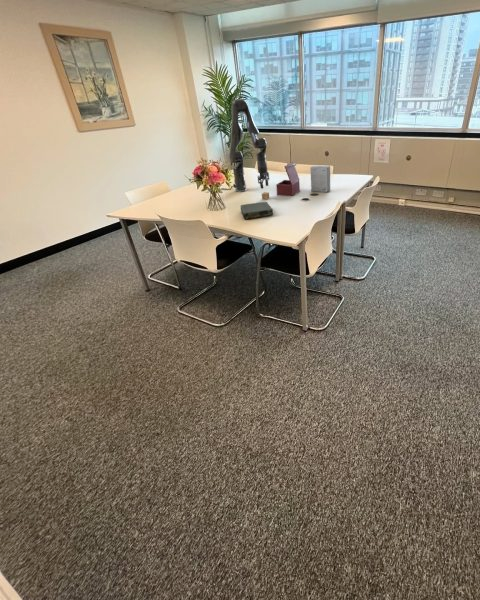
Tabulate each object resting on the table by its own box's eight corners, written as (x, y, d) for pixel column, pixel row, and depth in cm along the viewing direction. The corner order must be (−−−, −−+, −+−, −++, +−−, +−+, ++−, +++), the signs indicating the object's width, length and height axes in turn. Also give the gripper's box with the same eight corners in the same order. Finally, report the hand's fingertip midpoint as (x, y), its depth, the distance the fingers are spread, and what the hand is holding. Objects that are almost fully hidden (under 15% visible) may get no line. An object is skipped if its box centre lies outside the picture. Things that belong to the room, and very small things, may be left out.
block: (262, 199, 263) (261, 193, 261) (264, 197, 267) (264, 192, 264) (266, 199, 262) (266, 194, 259) (269, 198, 265) (268, 192, 263)
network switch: (245, 221, 221) (244, 214, 219) (237, 211, 239) (236, 205, 237) (276, 215, 229) (276, 208, 226) (266, 206, 247) (265, 200, 244)
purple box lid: (284, 166, 256) (289, 164, 253) (292, 162, 267) (297, 160, 264) (291, 185, 262) (296, 182, 259) (298, 180, 273) (304, 178, 270)
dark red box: (277, 194, 272) (276, 184, 267) (285, 190, 284) (284, 179, 279) (292, 196, 267) (291, 185, 262) (299, 191, 278) (299, 180, 273)
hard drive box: (330, 190, 276) (330, 165, 265) (327, 192, 270) (327, 167, 259) (314, 188, 282) (313, 165, 271) (310, 191, 276) (310, 167, 265)
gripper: (262, 164, 257) (264, 184, 266) (253, 167, 246) (256, 189, 255) (270, 164, 254) (272, 185, 263) (261, 168, 243) (264, 189, 252)
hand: (264, 187), depth 259 cm, fingers open, 8 cm apart
